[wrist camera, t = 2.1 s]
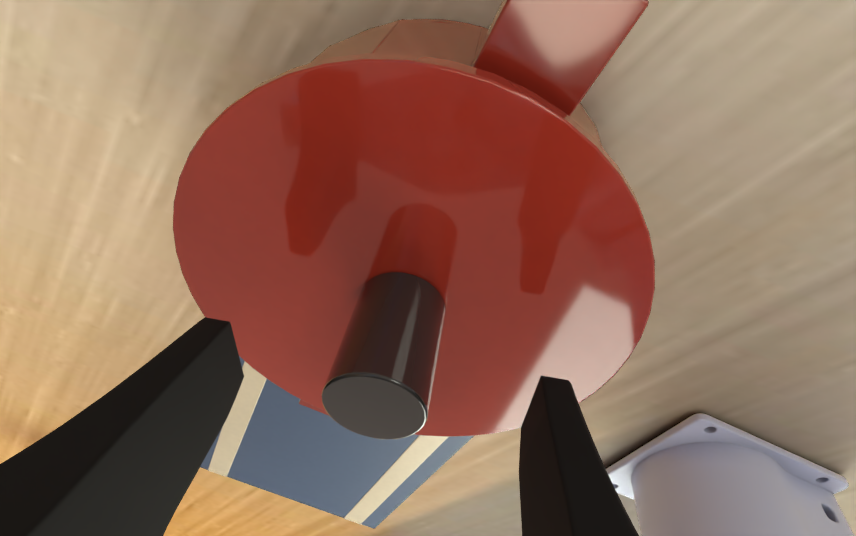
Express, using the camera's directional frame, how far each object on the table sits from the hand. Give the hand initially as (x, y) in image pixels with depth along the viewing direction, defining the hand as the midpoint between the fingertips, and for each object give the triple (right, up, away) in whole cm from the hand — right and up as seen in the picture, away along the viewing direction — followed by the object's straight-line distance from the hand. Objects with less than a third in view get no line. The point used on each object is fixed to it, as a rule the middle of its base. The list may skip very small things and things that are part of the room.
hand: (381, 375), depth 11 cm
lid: (0, +2, +2) cm, 3 cm away
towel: (-5, -8, +18) cm, 20 cm away
